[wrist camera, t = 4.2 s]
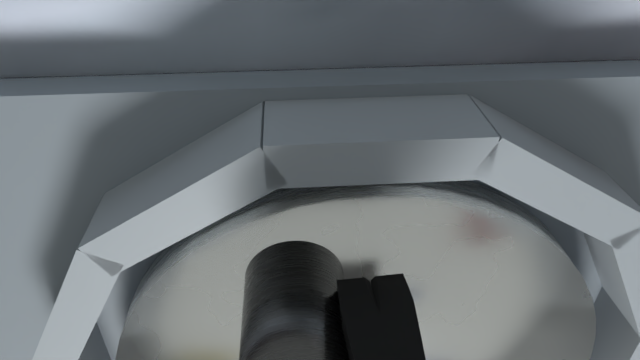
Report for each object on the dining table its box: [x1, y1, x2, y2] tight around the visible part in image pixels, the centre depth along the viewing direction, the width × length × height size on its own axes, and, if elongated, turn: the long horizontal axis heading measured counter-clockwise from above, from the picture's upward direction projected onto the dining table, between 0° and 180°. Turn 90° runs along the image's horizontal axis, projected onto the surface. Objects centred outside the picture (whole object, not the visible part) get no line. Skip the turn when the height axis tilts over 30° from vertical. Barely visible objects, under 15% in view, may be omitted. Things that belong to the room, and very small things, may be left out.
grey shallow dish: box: [0, 60, 640, 360], centre depth 16 cm, size 18×22×3 cm
